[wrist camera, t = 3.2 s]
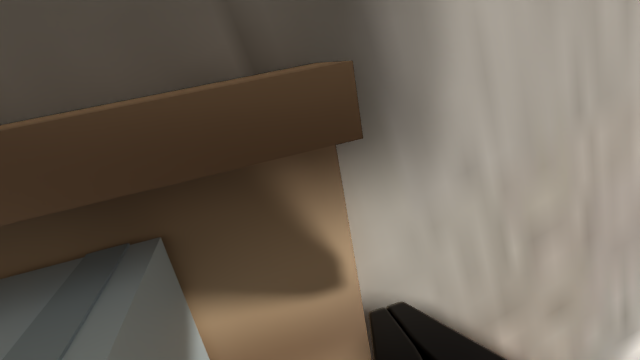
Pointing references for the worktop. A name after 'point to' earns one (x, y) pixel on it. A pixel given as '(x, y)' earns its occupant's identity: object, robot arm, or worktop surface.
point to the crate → (100, 309)
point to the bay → (206, 204)
